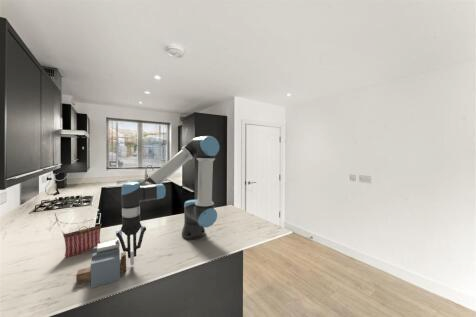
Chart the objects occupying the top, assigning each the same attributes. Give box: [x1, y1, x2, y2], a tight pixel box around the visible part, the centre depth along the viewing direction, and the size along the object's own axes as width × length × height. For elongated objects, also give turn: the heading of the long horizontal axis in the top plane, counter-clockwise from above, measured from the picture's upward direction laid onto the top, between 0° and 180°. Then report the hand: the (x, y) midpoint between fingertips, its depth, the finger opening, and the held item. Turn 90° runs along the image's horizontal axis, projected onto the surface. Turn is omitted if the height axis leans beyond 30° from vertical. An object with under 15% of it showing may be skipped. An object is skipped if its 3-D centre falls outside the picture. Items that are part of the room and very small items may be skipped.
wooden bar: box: [75, 251, 127, 285], centre depth 87 cm, size 18×4×7 cm, turn 121°
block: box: [90, 244, 121, 289], centre depth 88 cm, size 10×16×12 cm, turn 32°
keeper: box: [97, 237, 120, 254], centre depth 88 cm, size 8×5×4 cm, turn 122°
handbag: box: [52, 213, 102, 259], centre depth 103 cm, size 7×21×25 cm, turn 141°
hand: (132, 263), depth 93 cm, fingers closed
